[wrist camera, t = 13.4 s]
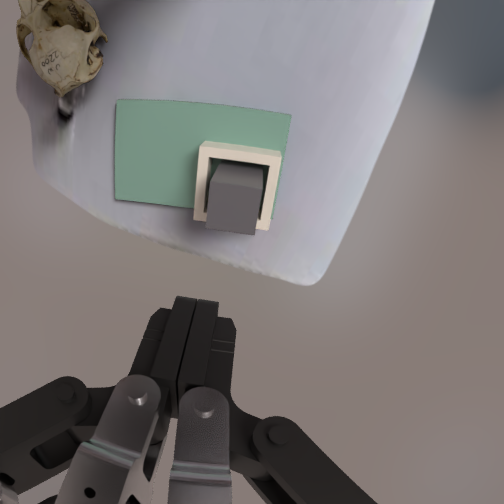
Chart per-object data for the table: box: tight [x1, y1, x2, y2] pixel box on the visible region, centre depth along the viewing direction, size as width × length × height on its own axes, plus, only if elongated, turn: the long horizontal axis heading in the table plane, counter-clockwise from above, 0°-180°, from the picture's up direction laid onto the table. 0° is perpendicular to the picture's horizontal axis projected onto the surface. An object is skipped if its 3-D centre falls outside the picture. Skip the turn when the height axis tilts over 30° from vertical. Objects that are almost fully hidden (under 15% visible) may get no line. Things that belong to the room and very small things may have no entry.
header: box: [193, 141, 282, 230], centre depth 33 cm, size 8×8×3 cm
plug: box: [206, 159, 263, 235], centre depth 31 cm, size 5×4×8 cm
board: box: [115, 99, 291, 219], centre depth 33 cm, size 12×19×1 cm, turn 82°
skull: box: [16, 0, 108, 97], centre depth 21 cm, size 10×16×10 cm, turn 13°
